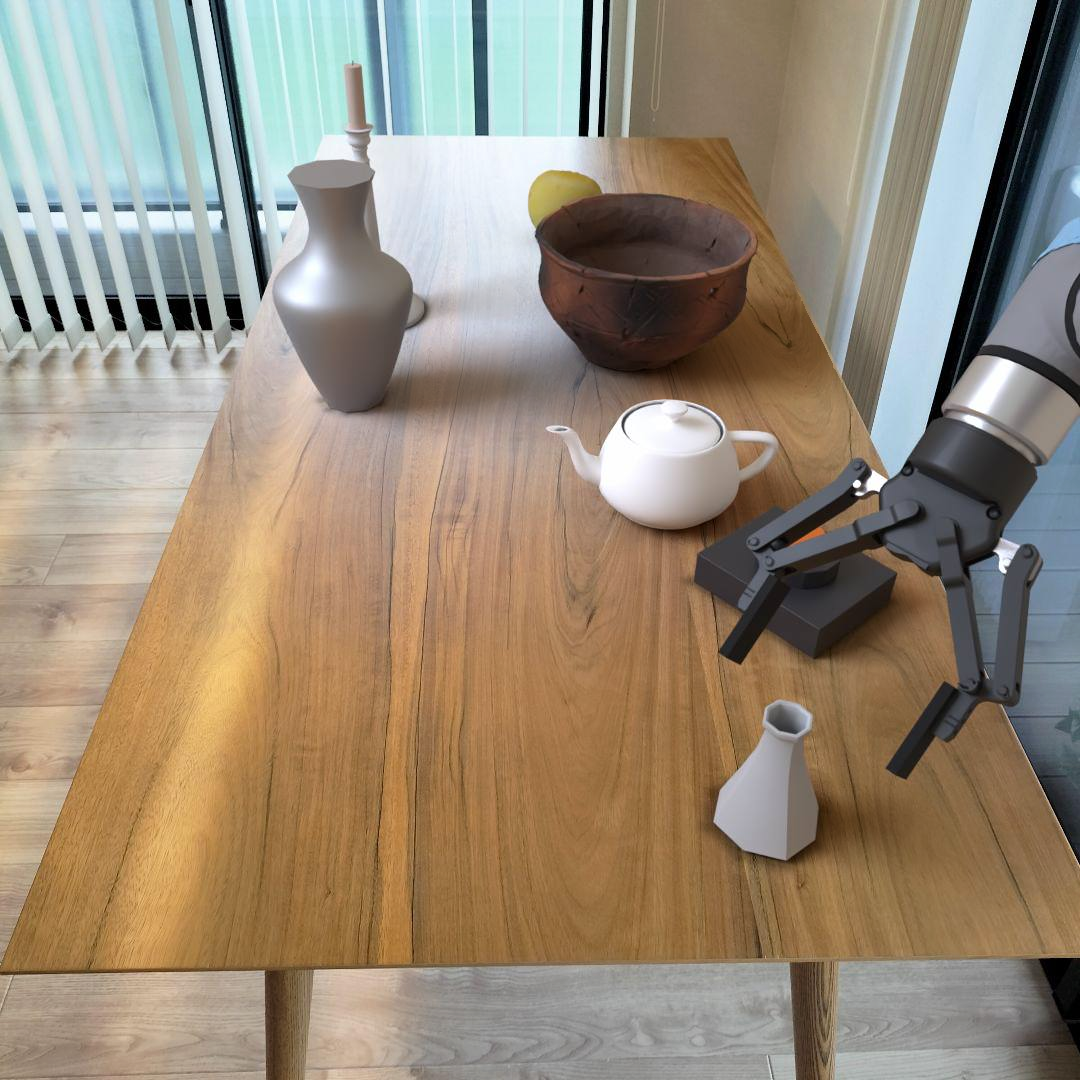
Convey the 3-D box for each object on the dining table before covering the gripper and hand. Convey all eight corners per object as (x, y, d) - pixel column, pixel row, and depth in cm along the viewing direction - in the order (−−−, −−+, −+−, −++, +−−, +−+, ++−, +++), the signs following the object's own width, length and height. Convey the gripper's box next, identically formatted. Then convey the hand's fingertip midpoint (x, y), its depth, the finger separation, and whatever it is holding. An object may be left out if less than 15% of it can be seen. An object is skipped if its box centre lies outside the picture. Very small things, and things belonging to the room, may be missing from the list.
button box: (890, 601, 94) (902, 555, 91) (813, 658, 88) (824, 612, 85) (771, 532, 101) (779, 488, 98) (693, 581, 95) (699, 536, 92)
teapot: (753, 460, 111) (768, 367, 104) (784, 542, 100) (803, 443, 94) (540, 464, 110) (542, 370, 103) (548, 546, 99) (551, 447, 92)
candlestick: (335, 287, 142) (309, 44, 124) (431, 292, 142) (419, 48, 123) (311, 331, 132) (278, 73, 114) (414, 337, 132) (398, 78, 113)
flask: (695, 827, 74) (711, 727, 68) (742, 761, 79) (761, 662, 73) (792, 879, 71) (818, 779, 65) (835, 807, 76) (863, 708, 70)
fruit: (608, 250, 154) (612, 180, 148) (534, 255, 152) (535, 184, 146) (592, 223, 162) (595, 156, 156) (522, 227, 160) (522, 160, 154)
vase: (403, 436, 114) (386, 203, 98) (270, 425, 115) (234, 193, 100) (431, 370, 125) (419, 152, 110) (309, 361, 126) (282, 144, 111)
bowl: (713, 421, 117) (731, 291, 108) (502, 379, 124) (502, 253, 114) (758, 325, 136) (777, 207, 127) (573, 293, 142) (577, 179, 133)
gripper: (1184, 548, 66) (988, 834, 67) (846, 391, 81) (690, 628, 82) (1179, 512, 60) (964, 826, 61) (815, 349, 75) (647, 605, 76)
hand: (807, 713), depth 72 cm, fingers open, 13 cm apart
